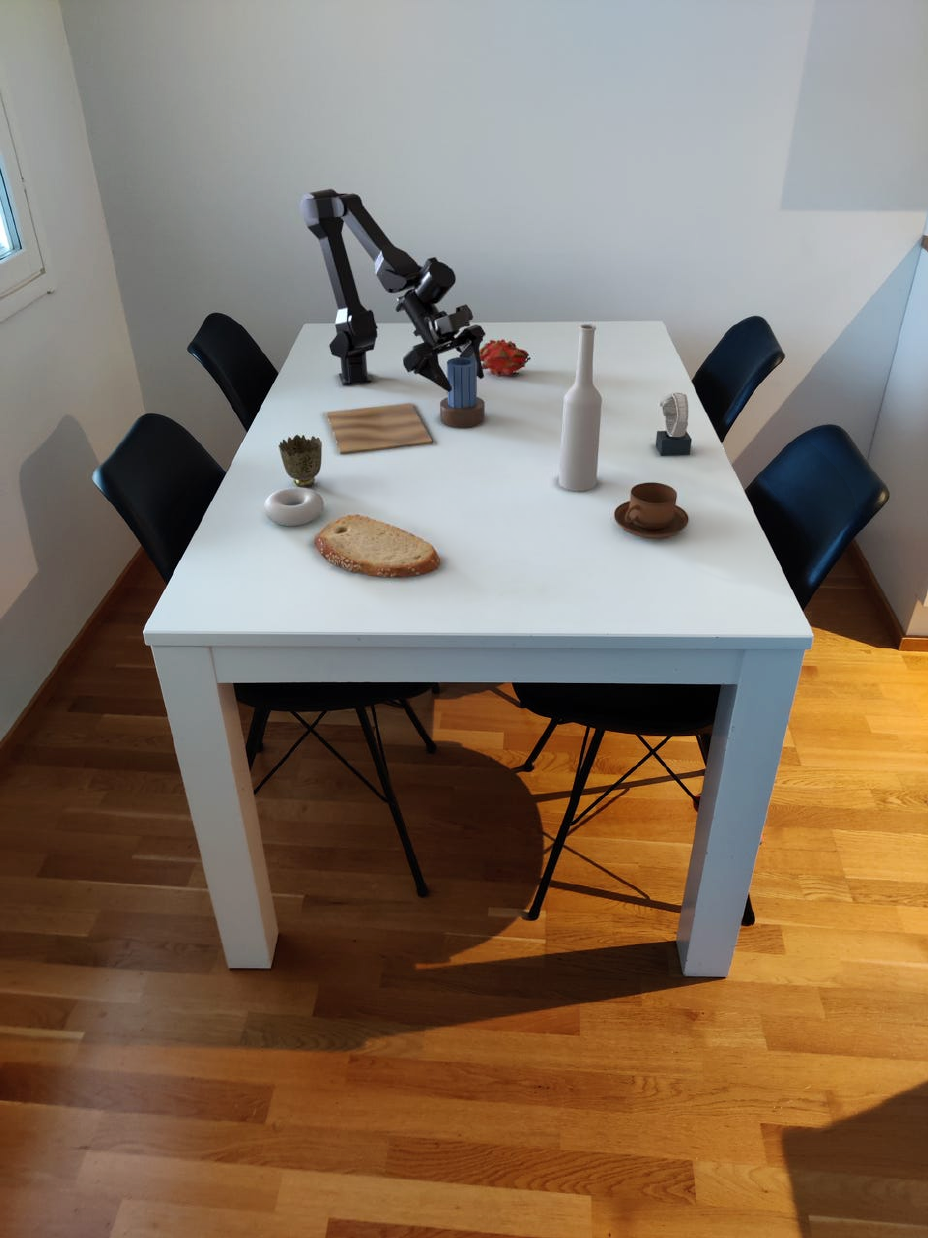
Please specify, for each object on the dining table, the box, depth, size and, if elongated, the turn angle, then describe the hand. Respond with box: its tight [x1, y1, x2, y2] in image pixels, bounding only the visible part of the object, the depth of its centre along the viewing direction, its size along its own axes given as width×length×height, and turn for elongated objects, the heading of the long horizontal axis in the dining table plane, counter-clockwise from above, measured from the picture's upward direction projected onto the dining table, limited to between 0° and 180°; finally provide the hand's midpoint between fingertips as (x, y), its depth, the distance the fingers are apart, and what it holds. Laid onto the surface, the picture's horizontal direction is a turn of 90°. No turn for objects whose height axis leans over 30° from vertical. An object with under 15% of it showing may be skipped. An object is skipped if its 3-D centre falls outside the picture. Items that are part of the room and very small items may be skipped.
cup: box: [278, 434, 323, 488], centre depth 167 cm, size 8×7×8 cm
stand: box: [439, 396, 486, 429], centre depth 190 cm, size 9×9×8 cm
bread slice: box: [313, 513, 442, 579], centre depth 148 cm, size 18×18×4 cm
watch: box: [655, 392, 693, 457], centre depth 176 cm, size 6×8×11 cm
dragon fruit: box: [479, 338, 531, 378], centre depth 211 cm, size 8×8×12 cm
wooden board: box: [325, 402, 433, 455], centre depth 189 cm, size 20×18×1 cm
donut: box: [263, 486, 325, 527], centre depth 159 cm, size 10×4×10 cm
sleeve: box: [446, 356, 478, 409], centre depth 188 cm, size 6×6×8 cm
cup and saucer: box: [613, 481, 689, 539], centre depth 153 cm, size 12×12×6 cm
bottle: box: [558, 323, 603, 493], centre depth 160 cm, size 7×7×28 cm
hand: (466, 384), depth 187 cm, fingers open, 9 cm apart
